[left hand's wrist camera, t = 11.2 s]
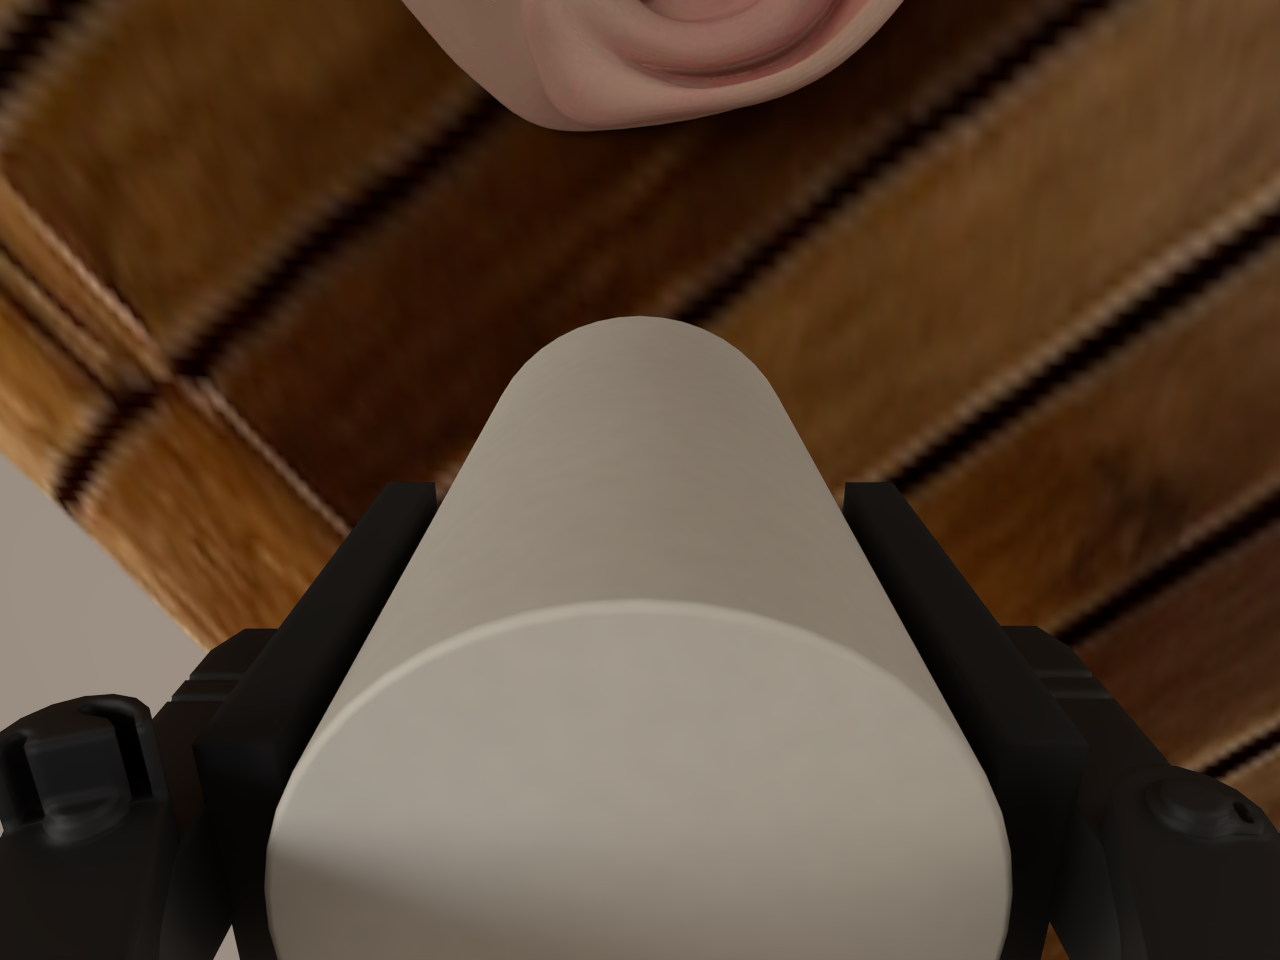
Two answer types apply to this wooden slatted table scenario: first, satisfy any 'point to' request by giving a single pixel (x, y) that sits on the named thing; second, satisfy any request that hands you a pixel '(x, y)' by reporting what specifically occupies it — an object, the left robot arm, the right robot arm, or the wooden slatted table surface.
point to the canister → (638, 704)
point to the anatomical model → (645, 53)
